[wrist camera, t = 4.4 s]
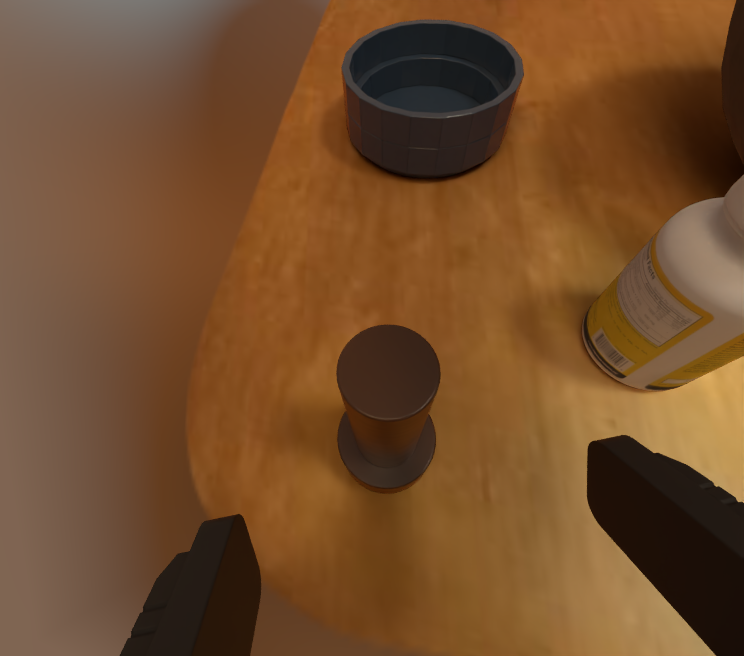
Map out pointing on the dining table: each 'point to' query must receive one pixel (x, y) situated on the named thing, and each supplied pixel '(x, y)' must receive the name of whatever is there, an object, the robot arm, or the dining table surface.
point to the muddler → (387, 407)
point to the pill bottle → (676, 300)
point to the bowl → (430, 96)
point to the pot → (735, 78)
